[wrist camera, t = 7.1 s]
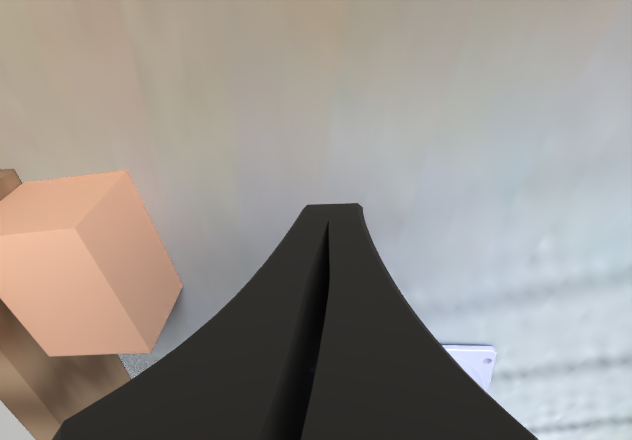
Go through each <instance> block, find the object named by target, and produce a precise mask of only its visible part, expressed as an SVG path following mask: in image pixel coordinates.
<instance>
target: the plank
mask: <svg viewBox="0 0 632 440" xmlns="http://www.w3.org/2000/svg"><path fill="white" fill-rule="evenodd" d="M21 184H22V183H21V181H20V180H19V178H18V176H17V174H16V173H15V171H14V169H11V170H0V201H1V200H2V199H4V198H5V197H6V196H7V195H9V194H10V193H11V192H12V191H14V190H15V189H16V188H17V187H18V186H20V185H21ZM130 380H131V378H130V376H129V375H128V373H127V371H126V369H125V368H124V366H123V364H122V362H121V360H120V359H119V357H118V355H117V354H100V355H75V356H48V355H47V353H46V352H45V351H44V350H43V349H42V347H41V346H40V345H39V344H38V343H37V341H36V340H35V339H34V338H33V337H32V335H31V334H30V333H29V332H28V331H27V329H26V328H25V327H24V326H23V325H22V324H21V322H20V321H19V320H18V319H17V318H16V316H15V315H14V314H13V313H12V312H11V310H10V309H9V308H8V307H7V306H6V304H5V303H4V302H3V301H2V300H1V298H0V400H1V401H2V402H3V403H4V405H5V406H6V407H7V408H8V409H9V410H10V411H11V412H12V414H13V415H14V416H15V417H16V418H17V419H18V420H19V421H20V423H21V424H22V425H23V426H24V427H25V428H26V429H27V430H28V431H29V433H30V434H31V435H32V436H33V437H34V438H35V439H36V440H52V439H53V437H54V435H55V434H56V432H57V431H58V429H59V428H60V426H61V425H62V423H63V422H64V420H66V419H68V418H69V417H71V416H73V415H75V414H76V413H78V412H80V411H81V410H83V409H85V408H86V407H88V406H90V405H91V404H93V403H95V402H96V401H98V400H100V399H101V398H103V397H104V396H106V395H108V394H109V393H111V392H113V391H114V390H116V389H118V388H119V387H121V386H122V385H124V384H125V383H127V382H129V381H130Z"/></svg>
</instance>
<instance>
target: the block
mask: <svg viewBox="0 0 632 440" xmlns="http://www.w3.org/2000/svg"><path fill="white" fill-rule="evenodd" d="M182 287H183V284H182V282H181V280H180V278H179V276H178V274H177V272H176V270H175V268H174V266H173V264H172V261H171V259H170V257H169V255H168V253H167V251H166V249H165V247H164V245H163V243H162V241H161V239H160V237H159V235H158V233H157V230H156V228H155V226H154V224H153V222H152V220H151V218H150V216H149V214H148V212H147V210H146V208H145V206H144V204H143V202H142V199H141V197H140V195H139V193H138V191H137V189H136V187H135V185H134V183H133V181H132V179H131V177H130V175H129V173H128V171H127V170H122V171H114V172H105V173H97V174H89V175H81V176H73V177H65V178H57V179H48V180H40V181H32V182H24V183H22V184H21V185H20V186H18V187H17V188H16V189H15V190H14V191H12V192H11V193H10V194H9V195H7V196H6V197H5V198H4V199H2V200H1V201H0V298H1V300H2V301H3V302H4V303H5V304H6V306H7V307H8V308H9V309H10V310H11V312H12V313H13V314H14V315H15V316H16V318H17V319H18V320H19V321H20V322H21V324H22V325H23V326H24V327H25V328H26V329H27V331H28V332H29V333H30V334H31V335H32V337H33V338H34V339H35V340H36V341H37V343H38V344H39V345H40V346H41V347H42V349H43V350H44V351H45V352H46V353H47V355H48V356H75V355H100V354H125V353H150V352H152V350H153V348H154V346H155V344H156V341H157V339H158V337H159V335H160V333H161V331H162V329H163V327H164V325H165V323H166V321H167V318H168V316H169V314H170V312H171V310H172V308H173V306H174V304H175V302H176V300H177V298H178V296H179V293H180V291H181V289H182Z"/></svg>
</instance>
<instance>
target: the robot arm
mask: <svg viewBox="0 0 632 440" xmlns="http://www.w3.org/2000/svg"><path fill="white" fill-rule="evenodd" d="M496 357H497V353H496V350H495V348H494V347H491V346H465V345H441V344H440V343H439V342H438V341H437V340H436V339H435V337H434V336H433V335H432V334H431V333H430V331H429V330H428V329H427V328H426V326H425V325H424V324H423V322H422V321H421V320H420V319H419V317H418V316H417V315H416V313H415V312H414V311H413V309H412V308H411V307H410V305H409V304H408V302H407V301H406V300H405V298H404V297H403V295H402V294H401V292H400V290H399V289H398V287H397V286H396V284H395V283H394V281H393V279H392V278H391V276H390V274H389V273H388V271H387V269H386V267H385V265H384V264H383V262H382V260H381V258H380V256H379V254H378V252H377V250H376V248H375V246H374V244H373V241H372V239H371V237H370V234H369V231H368V229H367V226H366V223H365V220H364V216H363V207H361V206H360V205H359V204H358V203H352V204H319V205H307V206H306V207H305V208H304V209H303V210H302V212H301V213H300V215H299V217H298V218H297V220H296V221H295V223H294V224H293V226H292V227H291V229H290V230H289V231H288V233H287V234H286V236H285V237H284V239H283V240H282V241H281V243H280V244H279V245H278V247H277V248H276V249H275V251H274V252H273V253H272V254H271V256H270V257H269V258H268V260H267V261H266V262H265V263H264V264H263V266H262V267H261V268H260V269H259V270H258V271H257V273H256V274H255V275H254V276H253V277H252V278H251V280H250V281H249V282H248V283H247V284H246V285H245V286H244V287H243V288H242V289H241V291H240V292H239V293H238V294H237V295H236V296H235V297H234V298H233V299H232V300H231V301H230V302H229V303H228V304H227V305H226V306H225V307H224V308H223V309H222V310H220V311H219V312H218V313H217V314H216V315H215V316H214V317H213V318H212V319H211V320H209V321H208V322H207V323H206V324H205V325H204V326H203V327H201V328H200V329H199V330H198V331H196V332H195V333H194V334H193V335H192V336H190V337H189V338H188V339H187V340H186V341H184V342H183V343H182V344H181V345H179V346H178V347H177V348H175V349H174V350H173V351H171V352H170V353H169V354H167V355H166V356H165V357H163V358H162V359H161V360H159V361H158V362H156V363H155V364H154V365H152V366H151V367H149V368H148V369H146V370H145V371H143V372H142V373H140V374H139V375H138V376H136V377H135V378H133V379H132V380H130V381H129V382H127V383H125V384H124V385H122V386H121V387H119V388H118V389H116V390H114V391H113V392H111V393H109V394H108V395H106V396H104V397H103V398H101V399H100V400H98V401H96V402H95V403H93V404H91V405H90V406H88V407H86V408H85V409H83V410H81V411H80V412H78V413H76V414H75V415H73V416H71V417H69V418H68V419H66V420H64V422H63V423H62V425H61V426H60V428H59V429H58V431H57V432H56V434H55V435H54V437H53V439H52V440H538V439H537V438H536V437H535V436H534V435H533V434H532V433H530V432H529V431H528V430H527V429H526V428H525V427H524V426H523V425H521V424H520V423H519V422H518V421H517V420H516V419H515V418H513V417H512V416H511V415H510V414H509V413H508V412H507V411H506V410H505V409H504V408H502V407H501V406H500V405H499V404H498V403H497V402H496V401H495V400H494V399H493V398H492V397H491V396H489V395H488V394H487V393H488V389H489V385H490V381H491V377H492V373H493V369H494V365H495V361H496Z"/></svg>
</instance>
